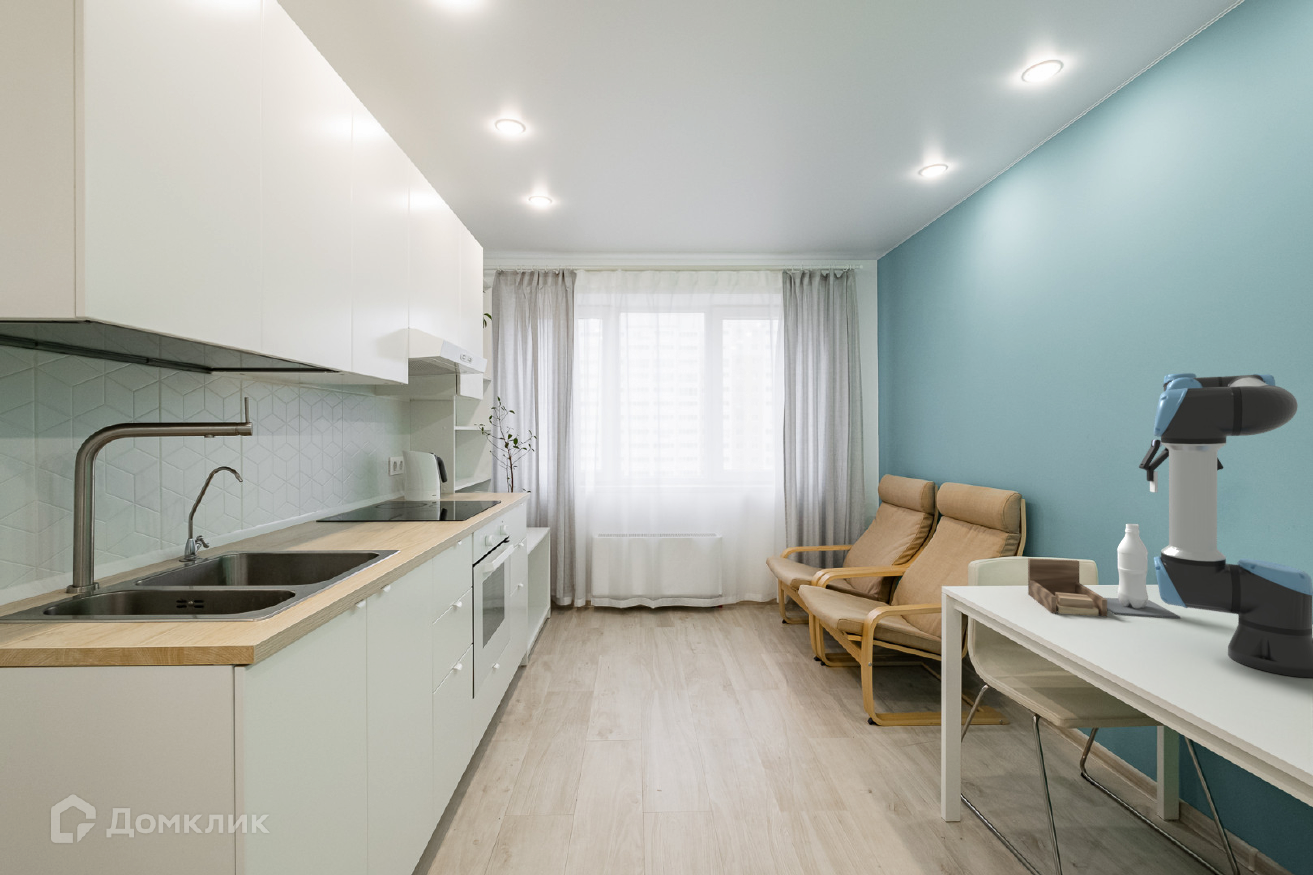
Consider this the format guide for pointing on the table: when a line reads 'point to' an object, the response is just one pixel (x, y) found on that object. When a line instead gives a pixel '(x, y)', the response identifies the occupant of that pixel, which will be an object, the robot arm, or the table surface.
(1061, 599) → the offcut upper
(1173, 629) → the table surface
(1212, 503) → the robot arm
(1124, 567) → the water bottle
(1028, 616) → the table surface
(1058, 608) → the offcut lower
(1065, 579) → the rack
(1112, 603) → the mat
